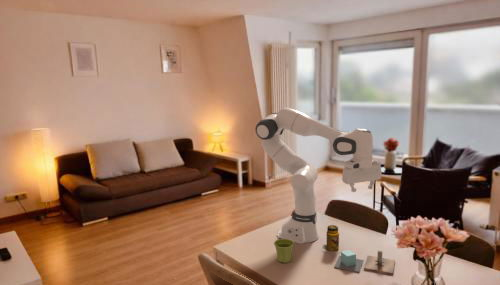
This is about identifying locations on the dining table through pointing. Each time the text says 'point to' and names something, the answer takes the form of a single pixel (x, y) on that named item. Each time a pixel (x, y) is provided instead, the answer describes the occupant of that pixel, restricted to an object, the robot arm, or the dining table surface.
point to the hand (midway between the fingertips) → (362, 190)
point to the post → (379, 264)
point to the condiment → (332, 240)
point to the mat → (349, 268)
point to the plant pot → (284, 249)
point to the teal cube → (348, 258)
